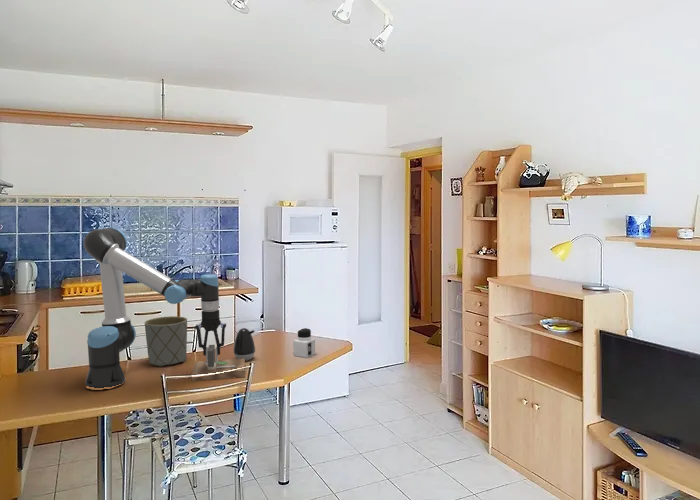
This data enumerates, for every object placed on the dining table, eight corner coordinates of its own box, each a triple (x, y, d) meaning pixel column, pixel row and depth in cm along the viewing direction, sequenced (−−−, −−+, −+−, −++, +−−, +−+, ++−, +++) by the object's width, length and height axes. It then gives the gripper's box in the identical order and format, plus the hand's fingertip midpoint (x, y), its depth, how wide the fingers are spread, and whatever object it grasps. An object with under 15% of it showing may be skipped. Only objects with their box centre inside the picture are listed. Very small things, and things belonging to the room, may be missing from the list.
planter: (155, 370, 241) (153, 327, 239) (140, 361, 255) (138, 320, 253) (195, 362, 253) (194, 320, 251) (178, 353, 268) (177, 314, 266)
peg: (206, 373, 227) (205, 351, 226) (208, 365, 237) (207, 345, 236) (235, 371, 230) (234, 349, 229) (235, 364, 239) (234, 343, 238)
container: (315, 354, 264) (315, 328, 263) (306, 358, 258) (305, 331, 257) (303, 351, 269) (302, 326, 267) (293, 355, 262) (292, 329, 261)
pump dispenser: (251, 362, 251) (250, 331, 250) (230, 361, 253) (229, 330, 252) (258, 356, 261) (258, 326, 260) (238, 355, 263) (238, 325, 262)
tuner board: (191, 380, 226) (191, 373, 226) (195, 368, 244) (195, 361, 244) (244, 377, 231) (244, 369, 230) (244, 364, 248) (244, 358, 248)
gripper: (190, 312, 228) (192, 366, 231) (229, 310, 232) (230, 363, 234) (191, 309, 236) (193, 360, 238) (229, 307, 239) (231, 358, 241)
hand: (212, 362), depth 236 cm, fingers open, 3 cm apart
